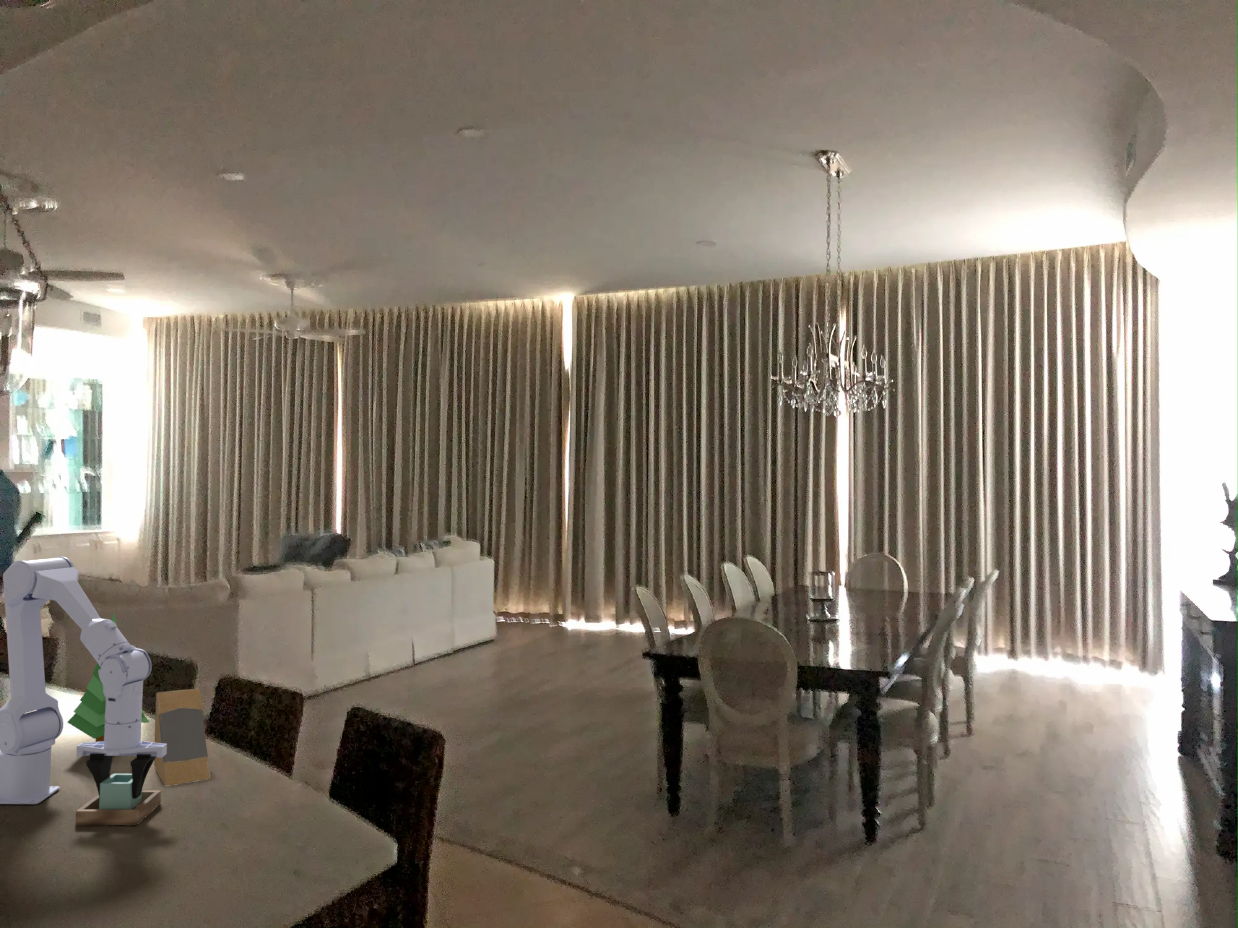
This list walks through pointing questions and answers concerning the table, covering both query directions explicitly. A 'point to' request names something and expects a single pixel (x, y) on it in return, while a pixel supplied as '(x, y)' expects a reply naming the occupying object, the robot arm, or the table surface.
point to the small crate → (117, 793)
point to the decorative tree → (93, 708)
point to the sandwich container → (181, 737)
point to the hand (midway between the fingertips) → (120, 796)
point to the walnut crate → (117, 811)
